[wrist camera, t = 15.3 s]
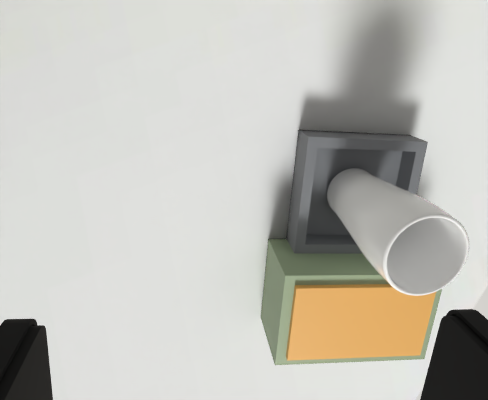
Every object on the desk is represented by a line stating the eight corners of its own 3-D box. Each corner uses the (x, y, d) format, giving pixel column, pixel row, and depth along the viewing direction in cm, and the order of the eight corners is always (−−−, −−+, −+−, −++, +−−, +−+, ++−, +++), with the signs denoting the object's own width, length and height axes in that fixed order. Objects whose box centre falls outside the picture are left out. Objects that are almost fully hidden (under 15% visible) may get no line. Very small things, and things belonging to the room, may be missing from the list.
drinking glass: (321, 226, 45) (384, 306, 31) (315, 166, 43) (380, 223, 29) (381, 214, 46) (469, 287, 32) (379, 154, 43) (473, 204, 30)
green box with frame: (279, 129, 42) (302, 147, 34) (427, 135, 45) (481, 155, 37) (260, 317, 49) (276, 369, 41) (389, 314, 52) (427, 362, 44)
